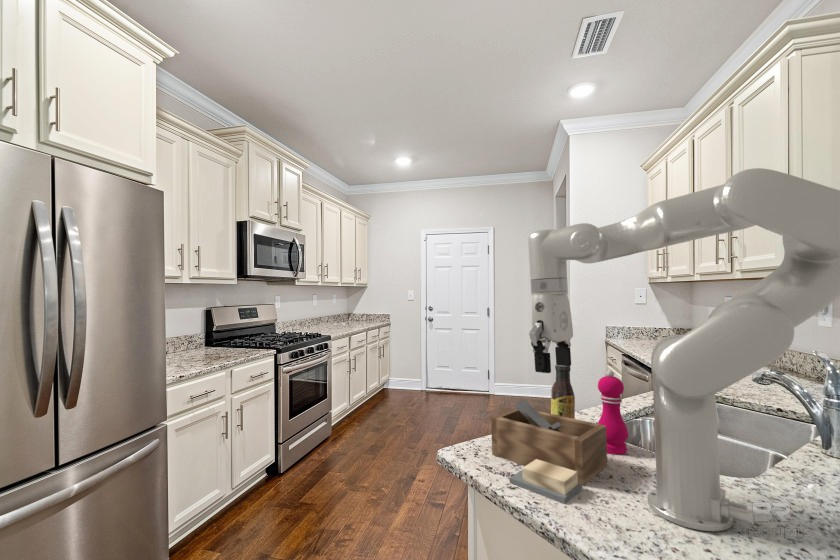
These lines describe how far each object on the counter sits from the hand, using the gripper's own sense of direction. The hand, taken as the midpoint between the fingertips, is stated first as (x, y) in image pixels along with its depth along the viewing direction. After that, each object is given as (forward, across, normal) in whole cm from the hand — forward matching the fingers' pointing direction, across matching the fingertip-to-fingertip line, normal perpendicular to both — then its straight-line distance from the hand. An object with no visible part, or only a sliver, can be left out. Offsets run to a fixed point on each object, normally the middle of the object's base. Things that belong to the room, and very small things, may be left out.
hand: (553, 368), depth 82 cm
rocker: (+17, +10, +8) cm, 21 cm away
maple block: (+23, -3, +1) cm, 23 cm away
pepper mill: (+24, +26, -2) cm, 36 cm away
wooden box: (+24, +9, +7) cm, 27 cm away
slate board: (+24, -3, +2) cm, 24 cm away
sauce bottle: (+24, +27, +11) cm, 37 cm away
